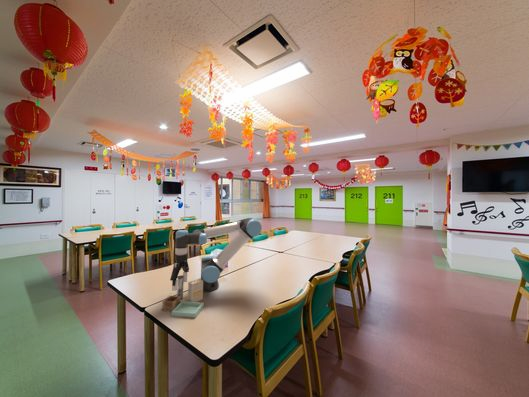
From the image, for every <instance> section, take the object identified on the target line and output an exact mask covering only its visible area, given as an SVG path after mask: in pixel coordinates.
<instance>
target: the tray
mask: <svg viewBox="0 0 529 397" xmlns="http://www.w3.org/2000/svg"><path fill="white" fill-rule="evenodd" d="M204 305H205V302H201V301H199V302H188V300H187V301H185V300H181V303H180V304H179V305H178V306H177V307H176V308H175V309H174V310H173V311H171V317H176V318H177V317H178V318H179V317H180V318H191V319H196V318H197V316H198V315H199V314H200V312H201V311H202V310H203V308H204Z"/></svg>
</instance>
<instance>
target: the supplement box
mask: <svg viewBox="0 0 529 397" xmlns="http://www.w3.org/2000/svg"><path fill="white" fill-rule="evenodd" d="M187 282H188V283H187V284H188V285H187V287H188V288H187V289H188V290H187V292H188V294H187V302H201V301H203V300H204V297H203V296H204V291H203V280H201V279H200V278H197V279H193V280H192V281H187Z"/></svg>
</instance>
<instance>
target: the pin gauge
mask: <svg viewBox="0 0 529 397" xmlns="http://www.w3.org/2000/svg"><path fill="white" fill-rule="evenodd" d="M176 280H177V290H176V296H181V301H184V283H185V282H184V276H183V274H182V275H178V277H177V279H176Z"/></svg>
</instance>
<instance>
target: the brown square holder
mask: <svg viewBox="0 0 529 397" xmlns="http://www.w3.org/2000/svg"><path fill="white" fill-rule="evenodd" d="M181 302H182V300H181V296H177V295H168V296H167V297H166V298H165V299H164V300H163V301H162V311H169V312H170V311H171V312H172V311H173V310H174V309H175V308H176V307H177V306H178V305H179V304H180V303H181Z"/></svg>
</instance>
